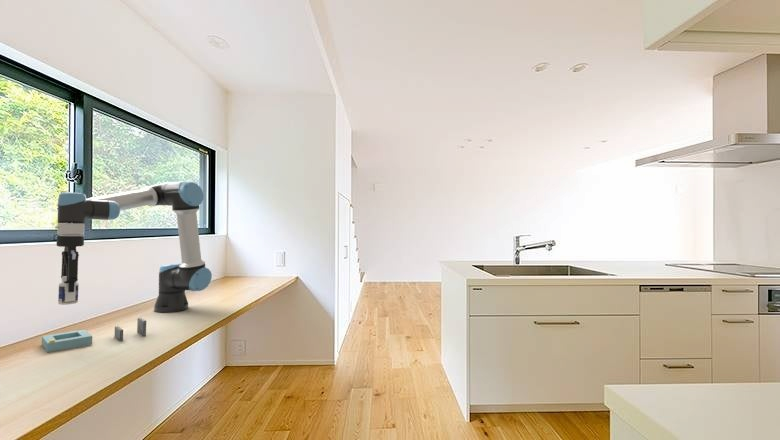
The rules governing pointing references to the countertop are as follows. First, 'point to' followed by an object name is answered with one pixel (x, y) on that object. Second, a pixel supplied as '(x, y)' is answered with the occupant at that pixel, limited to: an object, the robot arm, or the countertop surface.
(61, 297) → the pill bottle
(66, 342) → the frame
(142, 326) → the gray upright plates
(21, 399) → the countertop surface
